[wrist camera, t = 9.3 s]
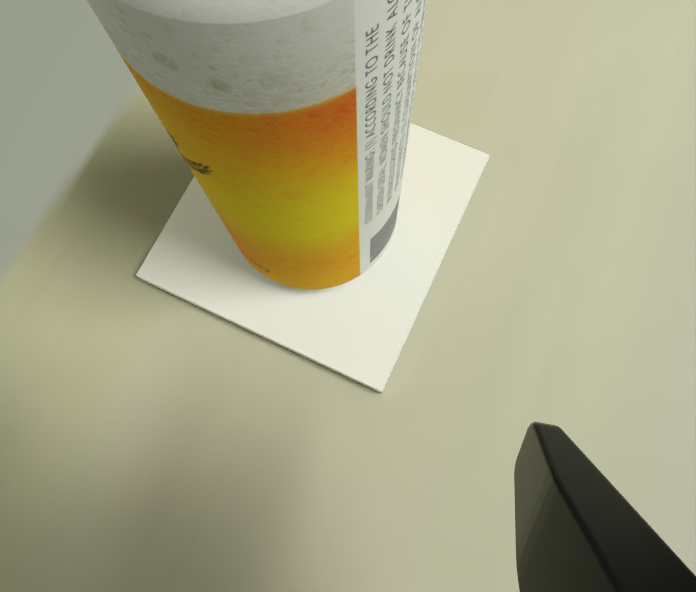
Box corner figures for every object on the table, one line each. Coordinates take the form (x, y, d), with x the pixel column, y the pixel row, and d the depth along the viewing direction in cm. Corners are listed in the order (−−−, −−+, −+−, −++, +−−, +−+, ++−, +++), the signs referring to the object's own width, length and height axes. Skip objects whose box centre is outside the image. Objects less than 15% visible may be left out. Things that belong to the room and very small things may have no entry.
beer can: (276, 124, 23) (127, -436, 8) (420, 178, 22) (525, -338, 8) (207, 258, 22) (-113, -138, 7) (358, 321, 21) (345, 18, 6)
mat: (381, 393, 21) (382, 391, 20) (141, 279, 22) (135, 275, 21) (486, 162, 23) (489, 155, 22) (263, 72, 24) (260, 62, 24)
